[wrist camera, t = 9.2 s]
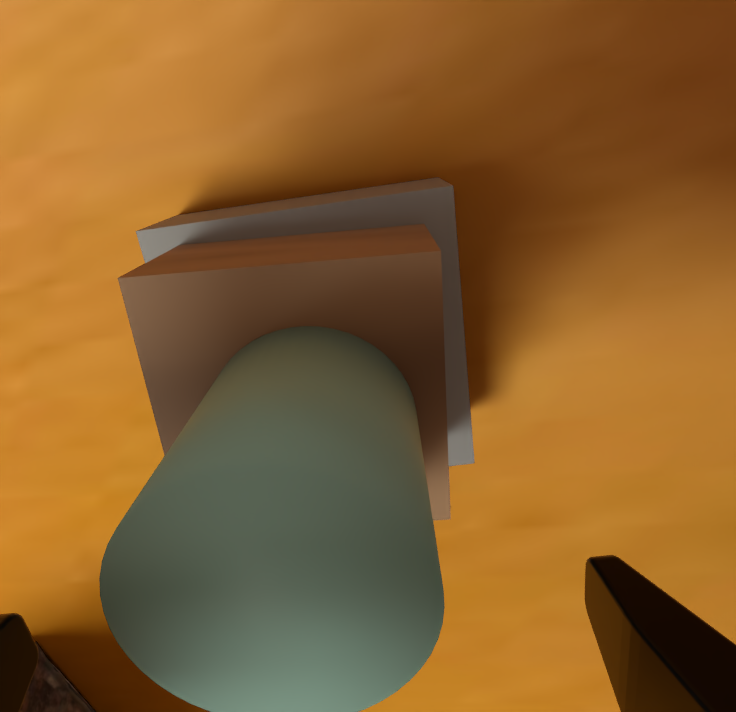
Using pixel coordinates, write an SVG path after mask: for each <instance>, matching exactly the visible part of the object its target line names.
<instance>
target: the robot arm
mask: <svg viewBox="0 0 736 712" xmlns="http://www.w3.org/2000/svg"><path fill="white" fill-rule="evenodd" d="M585 604H586V609H587V613H588V616H589V619H590V622H591V625H592V628H593V631H594V634H595V637H596V640H597V643H598V646H599V649H600V652H601V655H602V658H603V661H604V663H605V666H606V669H607V672H608V675H609V678H610V681H611V684H612V687H613V690H614V693H615V696H616V699H617V702H618V705H619V707H620V710H621V712H736V645H735V644H734V643H733V642H731V641H730V640H729V639H727V638H726V637H725V636H723V635H722V634H721V633H719V632H718V631H717V630H715V629H714V628H713V627H711V626H710V625H709V624H707V623H706V622H704V621H703V620H702V619H700V618H699V617H698V616H696V615H695V614H694V613H692V612H691V611H690V610H688V609H687V608H686V607H684V606H683V605H682V604H680V603H679V602H678V601H676V600H675V599H674V598H672V597H671V596H670V595H668V594H667V593H666V592H664V591H663V590H662V589H660V588H659V587H657V586H656V585H655V584H653V583H652V582H651V581H649V580H648V579H647V578H645V577H644V576H643V575H641V574H640V573H639V572H637V571H636V570H635V569H633V568H632V567H631V566H629V565H628V564H627V563H625V562H624V561H623V560H621V559H620V558H618V557H616V556H613V555H607V556H597V557H590V558H589V559H588V560H587V562H586V572H585ZM38 657H39V652H38V647H37V645H36V643H35V641H34V639H33V637H32V635H31V633H30V631H29V629H28V627H27V625H26V623H25V621H24V619H23V618H22V616H20V615H19V614H16V613H10V614H0V712H19V711H20V709H21V706H22V703H23V701H24V698H25V696H26V693H27V690H28V688H29V685H30V682H31V680H32V677H33V675H34V672H35V669H36V667H37V663H38Z"/></svg>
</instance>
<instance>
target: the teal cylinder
mask: <svg viewBox="0 0 736 712" xmlns="http://www.w3.org/2000/svg"><path fill="white" fill-rule="evenodd" d="M100 597H101V602H102V607H103V611H104V614H105V617H106V620H107V622H108V625H109V628H110V630H111V631H112V633H113V635H114V637H115V639H116V640H117V642H118V644H119V645H120V647H121V648H122V649H123V651H124V652H125V653H126V655H127V656H128V657H129V659H130V660H131V661H132V662H133V663H134V664H135V665H136V666H137V667H138V668H139V669H140V670H141V671H142V672H143V673H144V674H146V675H147V676H148V677H149V678H150V679H152V680H153V681H154V682H155V683H157V684H158V685H159V686H161V687H162V688H164V689H165V690H167V691H169V692H170V693H172V694H173V695H175V696H177V697H179V698H181V699H183V700H185V701H186V702H188V703H190V704H193V705H195V706H197V707H200V708H202V709H205V710H207V711H210V712H358V711H361V710H364V709H366V708H368V707H370V706H372V705H374V704H377V703H379V702H381V701H382V700H384V699H385V698H387V697H389V696H390V695H392V694H393V693H395V692H396V691H398V690H399V689H400V688H401V687H402V686H404V685H405V684H406V683H407V682H409V681H410V680H411V679H412V678H413V676H414V675H415V674H416V673H417V672H418V671H419V670H420V669H421V668H422V666H423V665H424V663H425V662H426V660H427V659H428V658H429V656H430V655H431V653H432V651H433V649H434V647H435V644H436V642H437V640H438V637H439V634H440V630H441V627H442V624H443V615H444V593H443V584H442V578H441V571H440V564H439V558H438V551H437V545H436V538H435V531H434V525H433V518H432V512H431V505H430V498H429V492H428V485H427V478H426V472H425V465H424V459H423V452H422V445H421V439H420V432H419V425H418V419H417V412H416V407H415V403H414V398H413V395H412V393H411V390H410V388H409V385H408V383H407V382H406V380H405V378H404V376H403V375H402V373H401V372H400V371H399V369H398V368H397V367H396V365H395V364H394V363H393V362H392V361H391V360H390V359H389V358H388V357H387V356H386V355H385V354H384V353H383V352H381V351H380V350H379V349H377V348H376V347H375V346H373V345H372V344H370V343H368V342H367V341H365V340H363V339H361V338H359V337H357V336H354V335H352V334H350V333H347V332H343V331H340V330H336V329H332V328H326V327H318V326H300V327H290V328H286V329H281V330H277V331H274V332H271V333H268V334H266V335H263V336H261V337H259V338H257V339H256V340H254V341H252V342H250V343H249V344H247V345H246V346H245V347H243V348H242V349H240V350H239V351H238V352H237V353H236V354H235V355H234V356H233V357H232V358H231V359H230V360H229V362H228V363H227V364H226V365H225V367H224V368H223V369H222V371H221V372H220V374H219V375H218V377H217V378H216V380H215V381H214V383H213V384H212V386H211V387H210V389H209V390H208V392H207V393H206V395H205V396H204V398H203V399H202V401H201V402H200V404H199V405H198V407H197V408H196V410H195V411H194V413H193V414H192V416H191V417H190V419H189V420H188V422H187V423H186V425H185V426H184V428H183V429H182V431H181V432H180V434H179V435H178V437H177V438H176V440H175V441H174V443H173V444H172V446H171V447H170V449H169V450H168V452H167V453H166V455H165V456H164V458H163V459H162V461H161V462H160V464H159V465H158V467H157V468H156V470H155V471H154V473H153V474H152V476H151V477H150V479H149V480H148V482H147V483H146V485H145V486H144V488H143V489H142V491H141V492H140V494H139V495H138V497H137V498H136V500H135V501H134V503H133V504H132V506H131V507H130V509H129V510H128V512H127V513H126V515H125V516H124V518H123V519H122V521H121V522H120V524H119V525H118V527H117V528H116V530H115V532H114V534H113V536H112V537H111V539H110V541H109V543H108V545H107V548H106V551H105V554H104V557H103V560H102V565H101V572H100Z"/></svg>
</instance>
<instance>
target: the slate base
mask: <svg viewBox="0 0 736 712" xmlns="http://www.w3.org/2000/svg"><path fill="white" fill-rule="evenodd" d="M416 224H425V226H426V228H427V229H428V231H429V232H430V234H431V236H432V237H433V239H434V240H435V242H436V244H437V245H438V247H439V248H440V250H441V263H442V292H443V320H444V348H445V377H446V405H447V434H448V462H449V466H454V465H463V464H472V463H474V452H473V438H472V425H471V412H470V399H469V386H468V373H467V360H466V347H465V334H464V321H463V308H462V294H461V281H460V268H459V255H458V242H457V229H456V216H455V203H454V190H453V185H451V184H449V183H448V182H446V181H444V180H442V179H440V178H439V177H436V178H429V179H422V180H415V181H408V182H402V183H395V184H388V185H381V186H374V187H367V188H360V189H353V190H346V191H340V192H333V193H326V194H319V195H312V196H305V197H298V198H291V199H284V200H277V201H271V202H264V203H257V204H250V205H243V206H236V207H229V208H222V209H215V210H208V211H202V212H195V213H188V214H181V215H177V216H174V217H171V218H169V219H166V220H164V221H161V222H158V223H156V224H153V225H151V226H148V227H146V228H143V229H140V230H138V231H136V234H137V237H138V240H139V244H140V247H141V250H142V254H143V257H144V260H145V263H147V262H149V261H150V260H152V259H154V258H156V257H158V256H160V255H162V254H163V253H165V252H167V251H169V250H171V249H173V248H175V247H176V246H178V245H185V244H196V243H208V242H219V241H231V240H242V239H254V238H265V237H277V236H289V235H300V234H312V233H323V232H335V231H346V230H358V229H369V228H381V227H393V226H404V225H416Z"/></svg>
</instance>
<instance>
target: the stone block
mask: <svg viewBox="0 0 736 712" xmlns="http://www.w3.org/2000/svg"><path fill="white" fill-rule="evenodd" d="M35 643H36V645H37V647H38V652H39V657H38V663H37V667H36V669H35V672H34V675H33V677H32V680H31V682H30V685H29V688H28V690H27V693H26V696H25V698H24V701H23V703H22V706H21V709H20V711H19V712H96V711H95V710H94V709H93V708H92V707H91V706H90V705H89V704H88V703H87V701H86V700H85V699H84V698H83V697H82V696H81V695H80V694H79V693H78V692H77V691H76V689H75V688H74V687H73V686H72V684H71V683H70V682H69V681H68V680H66V678H65V677H64V676H63V675H62V673H61V672H60V671H59V670H58V669H57V668H56V667H55V666H54V665H53V664H52V663H51V662H50V661H49V660H48V658H47V657H46V655H45V654H44V652H43V651H42V650H41V648H40V647H39V645H38V643H37V642H35Z"/></svg>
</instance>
